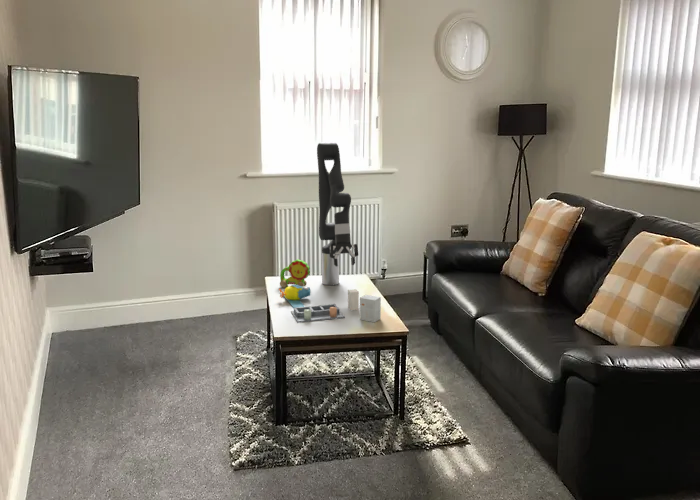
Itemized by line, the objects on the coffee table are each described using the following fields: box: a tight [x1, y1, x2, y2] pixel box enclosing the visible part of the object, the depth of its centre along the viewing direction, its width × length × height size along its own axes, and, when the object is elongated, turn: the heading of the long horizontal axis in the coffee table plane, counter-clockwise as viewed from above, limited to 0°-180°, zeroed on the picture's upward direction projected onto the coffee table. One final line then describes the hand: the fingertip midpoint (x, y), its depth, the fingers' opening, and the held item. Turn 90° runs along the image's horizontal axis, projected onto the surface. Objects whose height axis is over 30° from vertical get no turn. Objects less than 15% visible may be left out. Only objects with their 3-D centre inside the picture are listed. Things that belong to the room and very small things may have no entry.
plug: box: [347, 288, 360, 311], centre depth 297 cm, size 4×4×9 cm
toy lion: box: [279, 258, 311, 288], centre depth 329 cm, size 16×5×15 cm, turn 76°
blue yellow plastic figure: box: [278, 284, 311, 309], centre depth 309 cm, size 28×9×15 cm
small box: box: [359, 294, 382, 323], centre depth 283 cm, size 8×6×10 cm
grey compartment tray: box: [290, 303, 346, 324], centre depth 288 cm, size 14×22×5 cm, turn 107°
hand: (344, 265), depth 310 cm, fingers open, 8 cm apart
